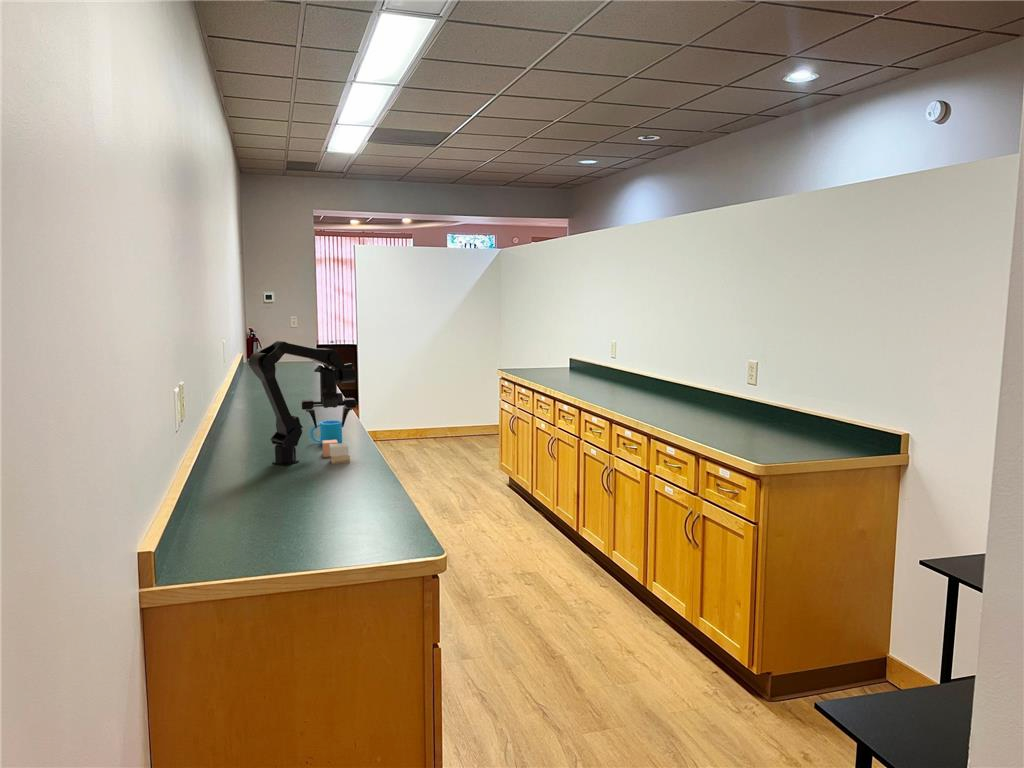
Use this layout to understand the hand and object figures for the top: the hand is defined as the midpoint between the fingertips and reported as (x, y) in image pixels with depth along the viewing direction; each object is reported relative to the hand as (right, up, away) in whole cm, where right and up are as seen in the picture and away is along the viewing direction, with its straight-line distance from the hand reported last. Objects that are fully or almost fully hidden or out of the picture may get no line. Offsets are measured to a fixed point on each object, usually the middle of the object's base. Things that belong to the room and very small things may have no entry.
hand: (329, 427), depth 266 cm
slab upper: (+6, -8, -9) cm, 14 cm away
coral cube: (0, -10, +1) cm, 10 cm away
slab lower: (+6, -11, -9) cm, 16 cm away
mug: (-6, -8, +21) cm, 24 cm away
